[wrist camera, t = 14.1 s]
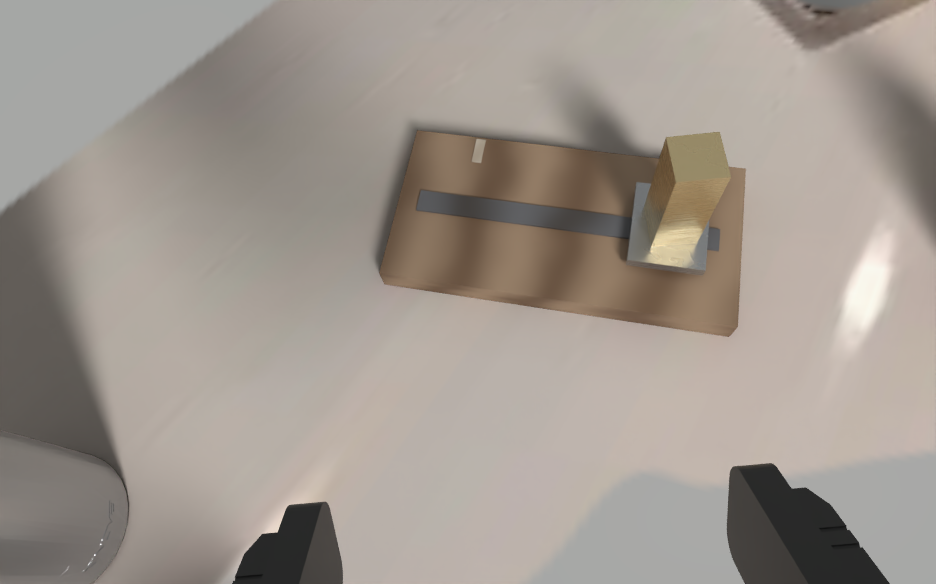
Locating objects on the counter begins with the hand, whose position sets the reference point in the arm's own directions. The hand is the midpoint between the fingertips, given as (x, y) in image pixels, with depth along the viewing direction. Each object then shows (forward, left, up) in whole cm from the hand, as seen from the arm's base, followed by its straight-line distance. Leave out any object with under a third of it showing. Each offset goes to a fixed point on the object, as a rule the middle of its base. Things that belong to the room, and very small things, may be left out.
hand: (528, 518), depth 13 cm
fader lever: (+6, +22, -27) cm, 36 cm away
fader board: (-1, +22, -30) cm, 37 cm away
